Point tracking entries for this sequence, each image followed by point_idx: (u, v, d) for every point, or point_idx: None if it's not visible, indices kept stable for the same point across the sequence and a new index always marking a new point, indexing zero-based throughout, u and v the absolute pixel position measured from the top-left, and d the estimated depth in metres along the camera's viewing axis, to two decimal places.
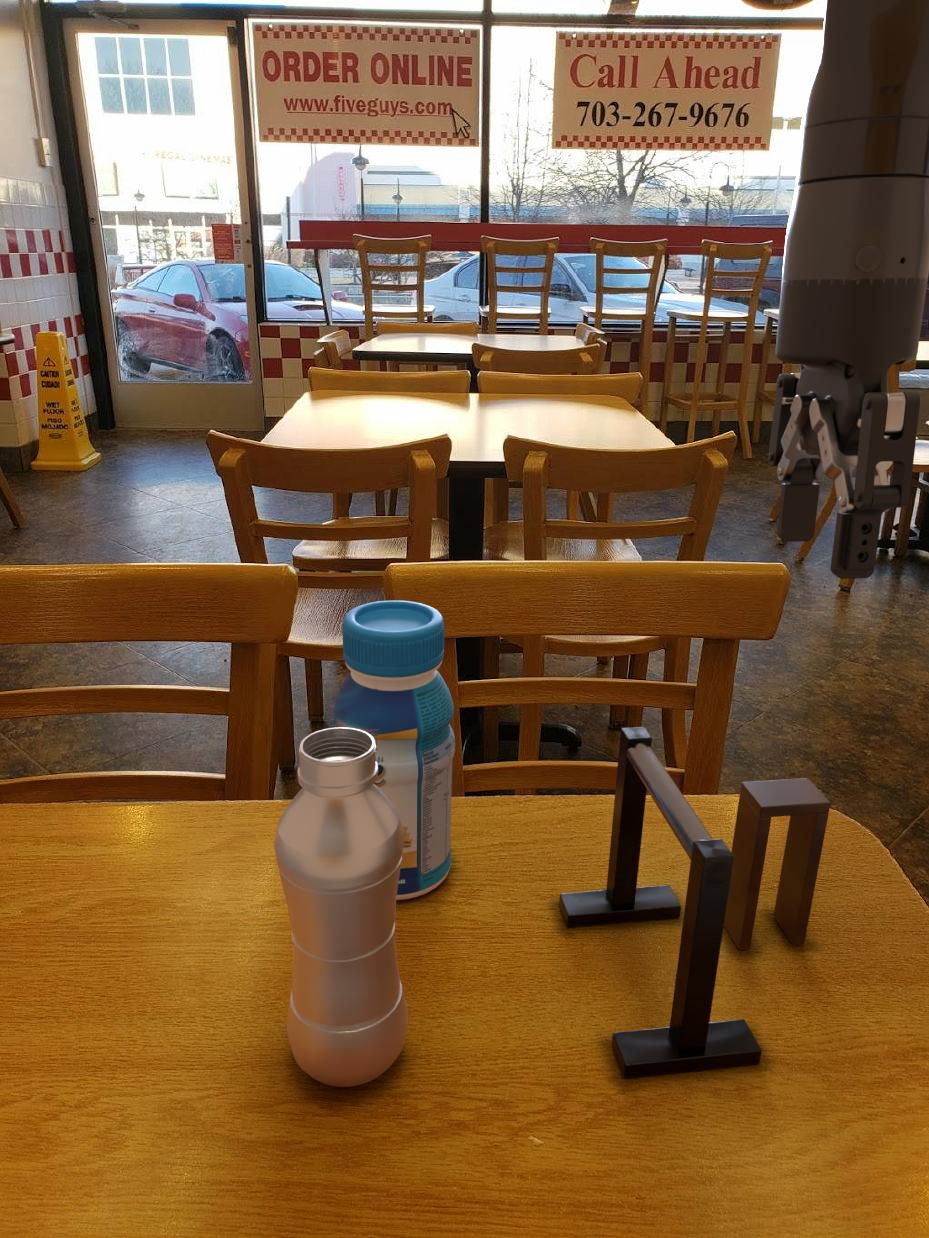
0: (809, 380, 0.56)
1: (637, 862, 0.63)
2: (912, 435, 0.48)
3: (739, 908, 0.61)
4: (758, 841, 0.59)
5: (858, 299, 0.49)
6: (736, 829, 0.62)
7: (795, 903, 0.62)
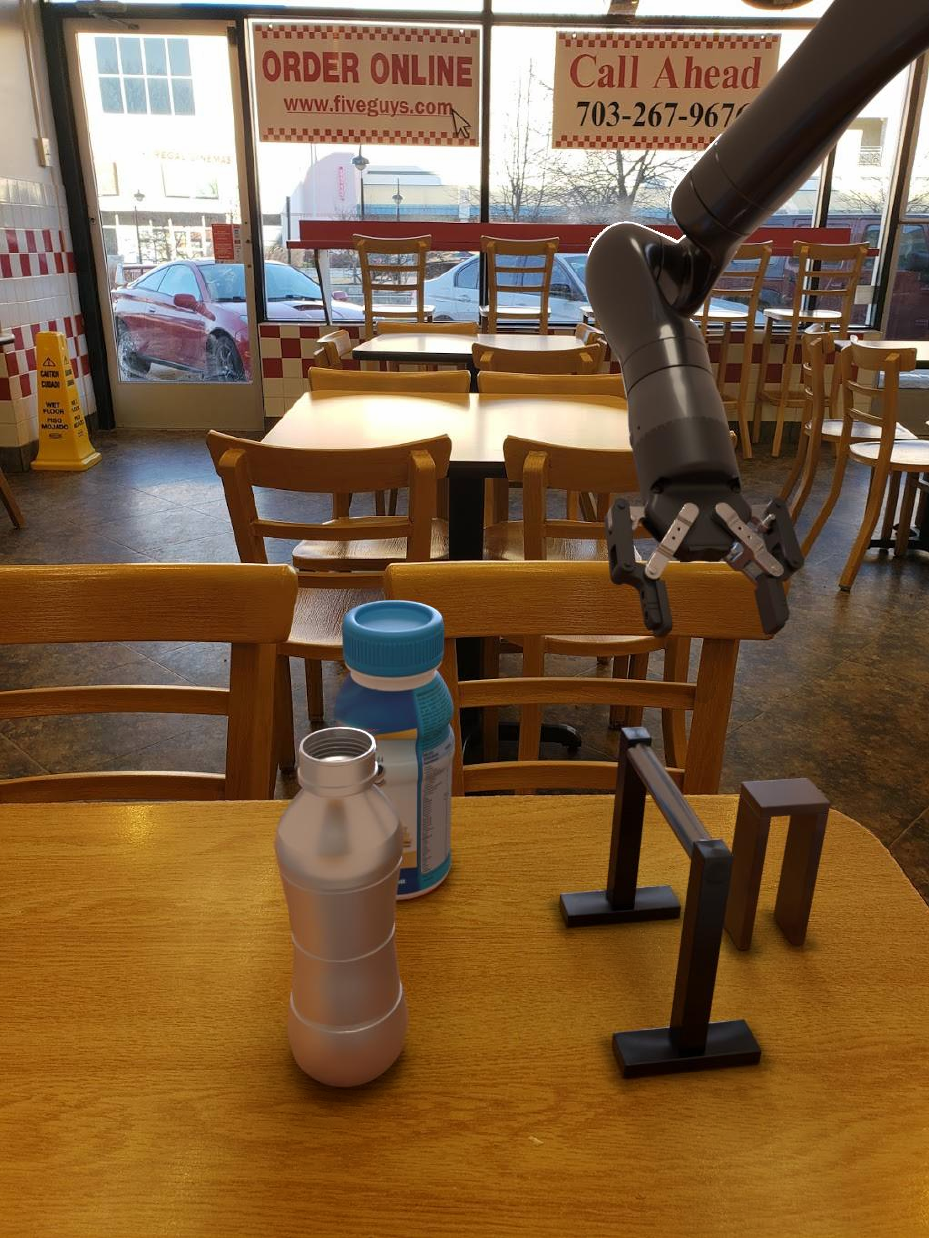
0: None
1: (637, 862, 0.63)
2: (614, 525, 0.69)
3: (739, 908, 0.61)
4: (758, 841, 0.59)
5: (635, 463, 0.74)
6: (736, 829, 0.62)
7: (795, 903, 0.62)
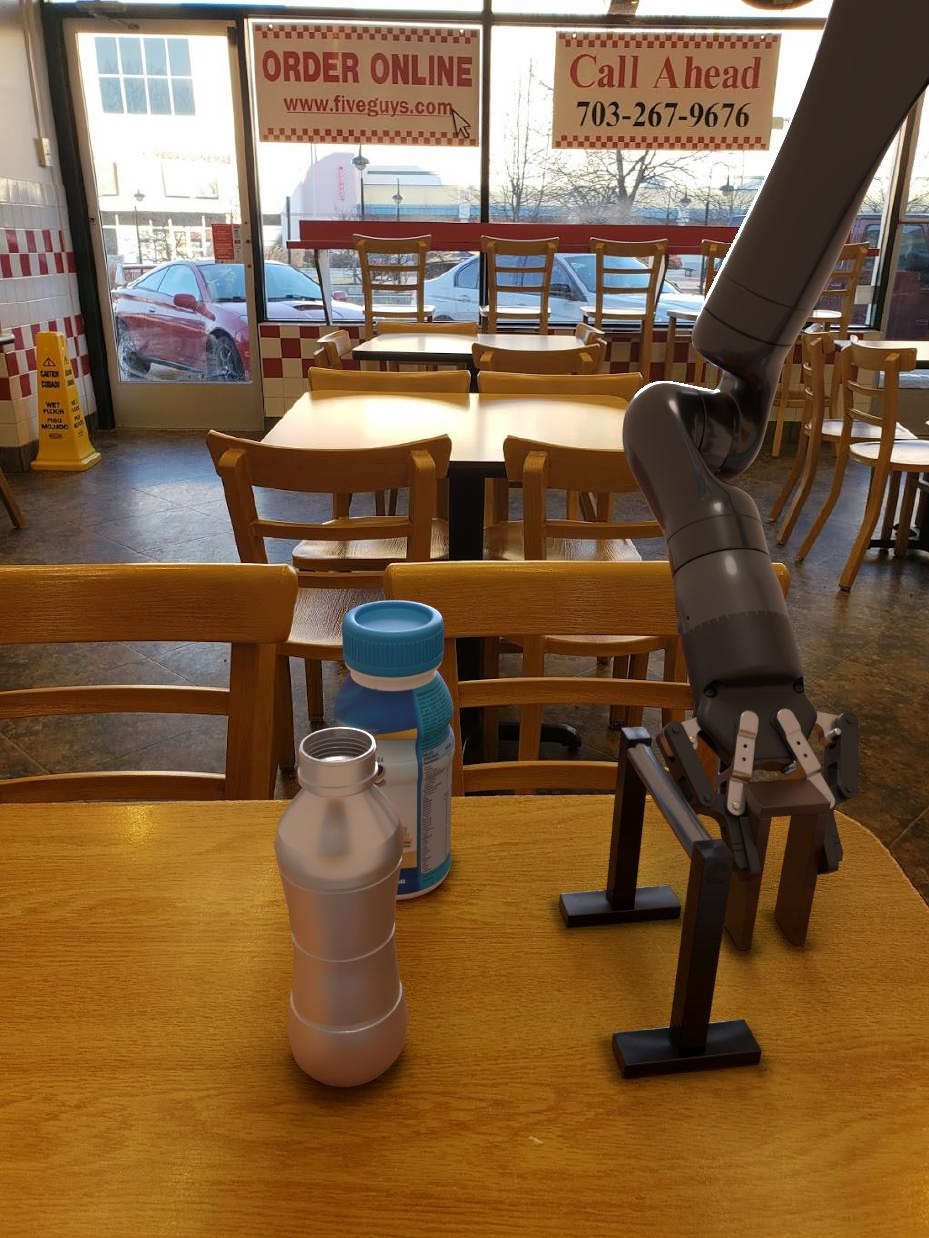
0: None
1: (637, 862, 0.63)
2: (676, 755, 0.61)
3: (740, 909, 0.61)
4: (758, 841, 0.59)
5: None
6: None
7: (795, 903, 0.62)
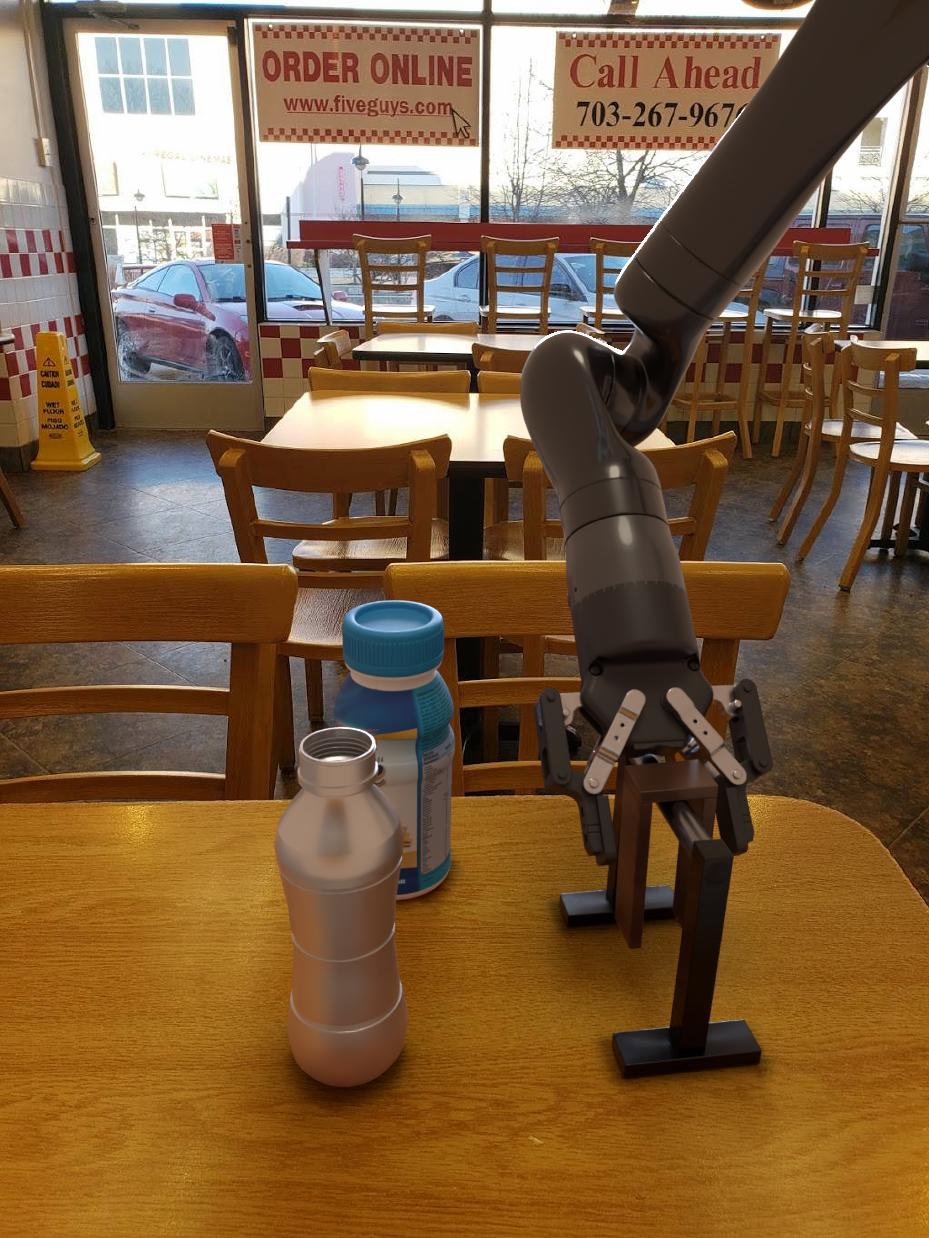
0: None
1: None
2: (544, 723, 0.56)
3: (628, 904, 0.56)
4: (640, 830, 0.53)
5: (573, 629, 0.61)
6: (622, 817, 0.56)
7: None
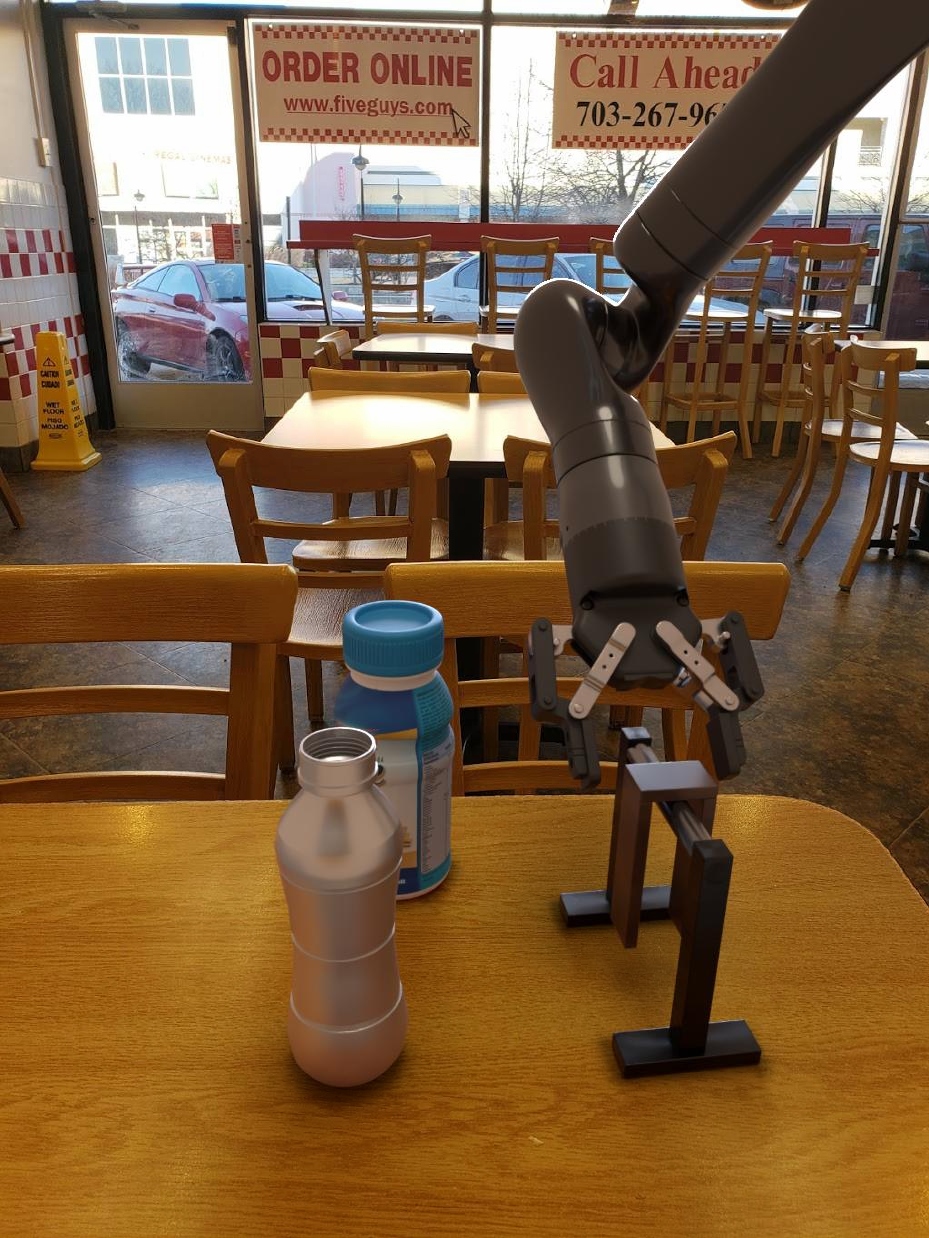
0: None
1: None
2: (534, 651, 0.57)
3: (624, 903, 0.56)
4: (639, 829, 0.53)
5: (565, 568, 0.62)
6: (621, 816, 0.56)
7: None
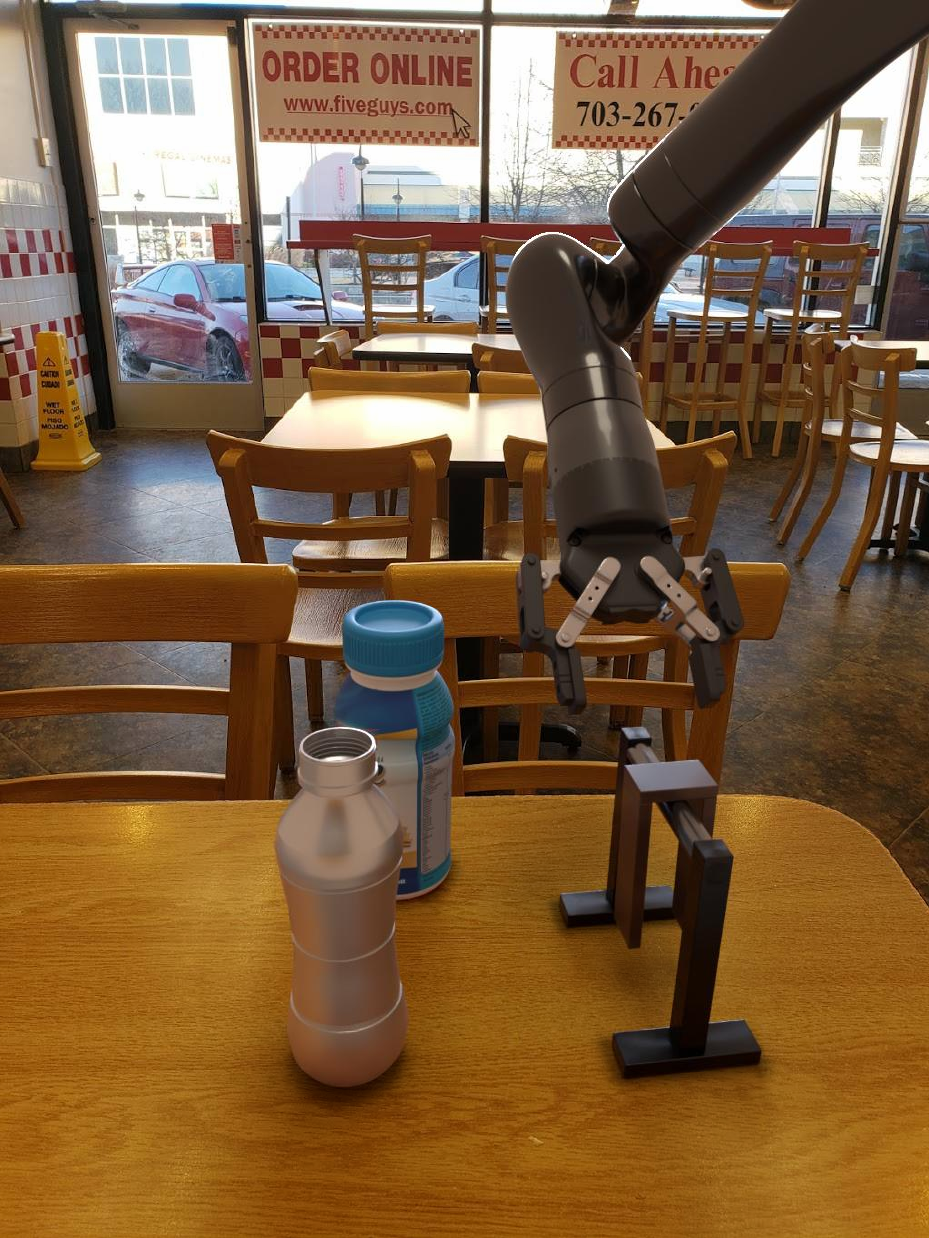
0: None
1: None
2: (523, 584, 0.59)
3: (627, 904, 0.56)
4: (640, 829, 0.53)
5: None
6: (622, 817, 0.56)
7: None
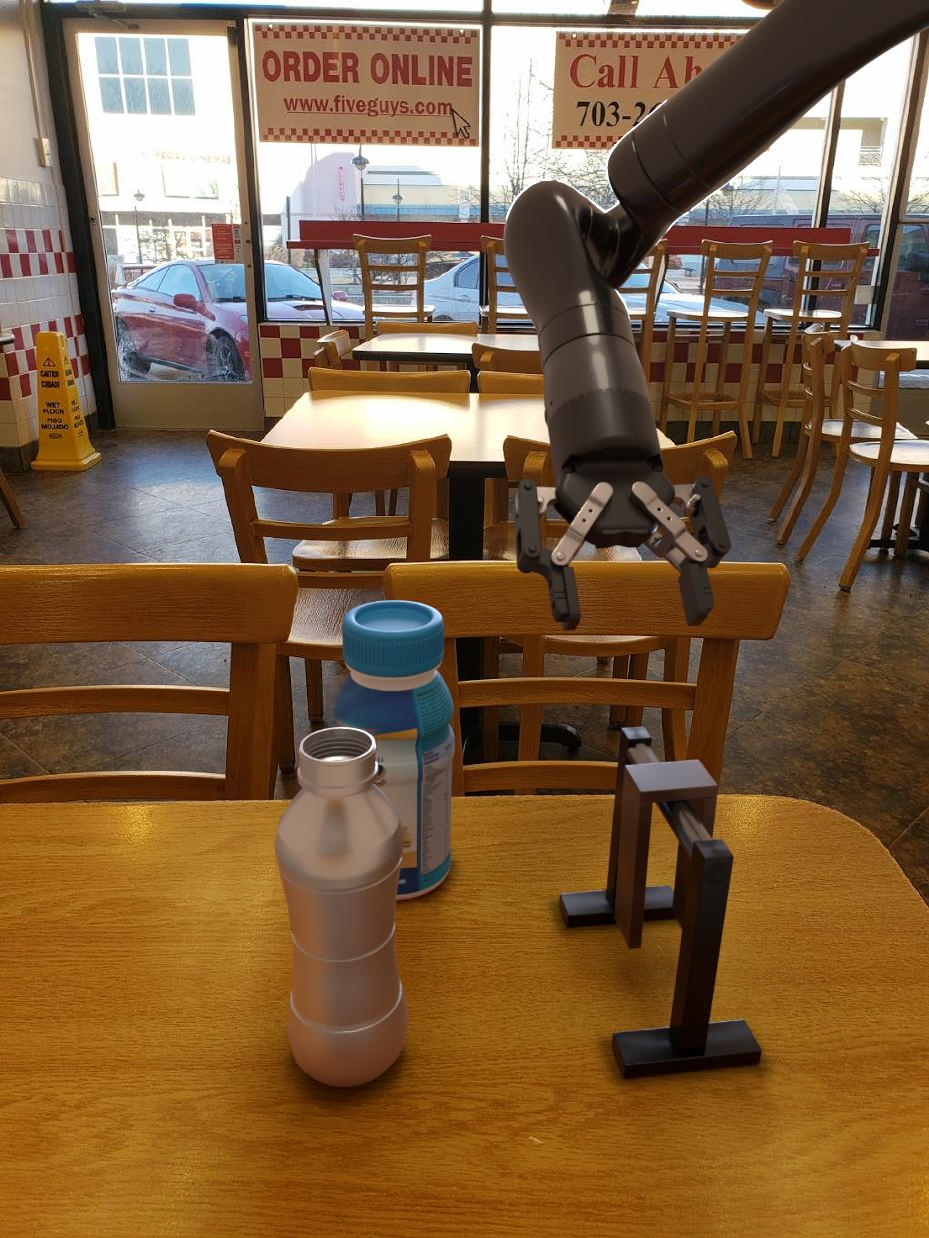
0: None
1: None
2: (519, 507, 0.62)
3: (627, 904, 0.56)
4: (640, 830, 0.53)
5: None
6: (622, 817, 0.56)
7: None
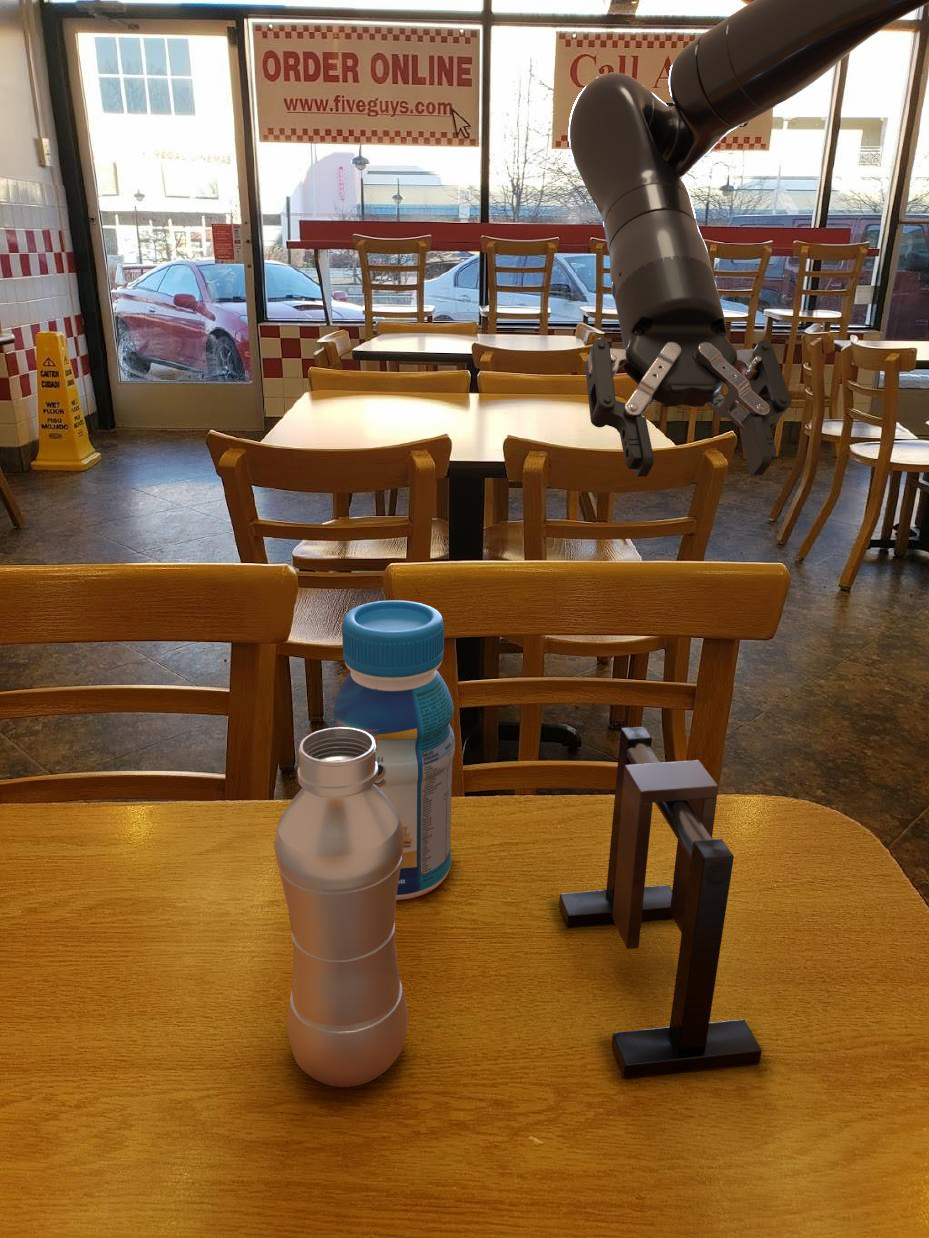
0: None
1: None
2: (594, 364, 0.67)
3: (626, 903, 0.56)
4: (639, 829, 0.53)
5: (617, 313, 0.72)
6: (621, 817, 0.56)
7: None
